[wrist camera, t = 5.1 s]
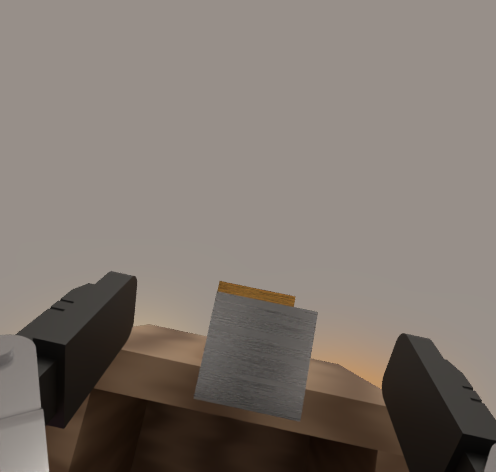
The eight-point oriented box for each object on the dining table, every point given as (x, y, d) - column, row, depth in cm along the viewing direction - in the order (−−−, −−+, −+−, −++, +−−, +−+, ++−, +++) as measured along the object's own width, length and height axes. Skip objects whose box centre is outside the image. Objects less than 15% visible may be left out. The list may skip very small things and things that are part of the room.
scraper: (338, 482, 8) (365, 278, 8) (137, 437, 8) (185, 241, 9) (269, 354, 29) (278, 300, 30) (216, 343, 29) (227, 290, 30)
